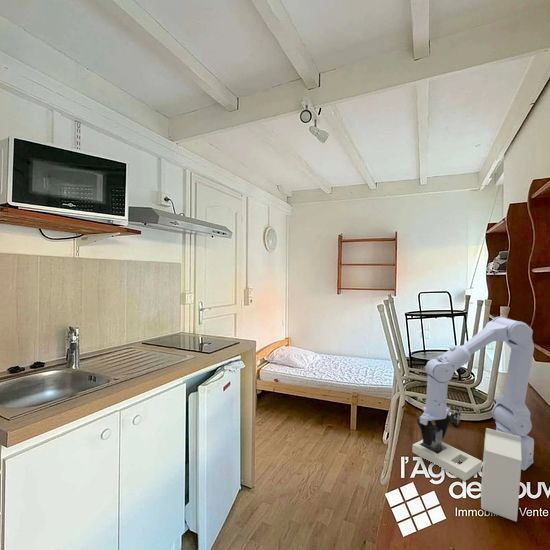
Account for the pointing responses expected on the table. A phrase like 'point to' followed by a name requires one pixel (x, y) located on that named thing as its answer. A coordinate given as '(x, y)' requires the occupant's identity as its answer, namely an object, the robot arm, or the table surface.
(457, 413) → the valve
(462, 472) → the socket plate
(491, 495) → the milk carton
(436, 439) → the peg
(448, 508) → the table surface
